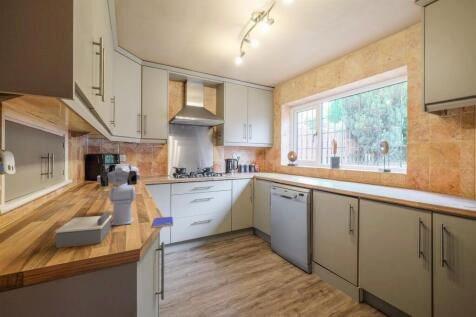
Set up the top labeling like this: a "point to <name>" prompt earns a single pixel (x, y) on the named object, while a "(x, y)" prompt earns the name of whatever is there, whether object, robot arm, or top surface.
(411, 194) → the top surface
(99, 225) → the mailer lid
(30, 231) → the top surface
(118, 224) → the robot arm
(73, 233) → the box
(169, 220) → the hard drive
